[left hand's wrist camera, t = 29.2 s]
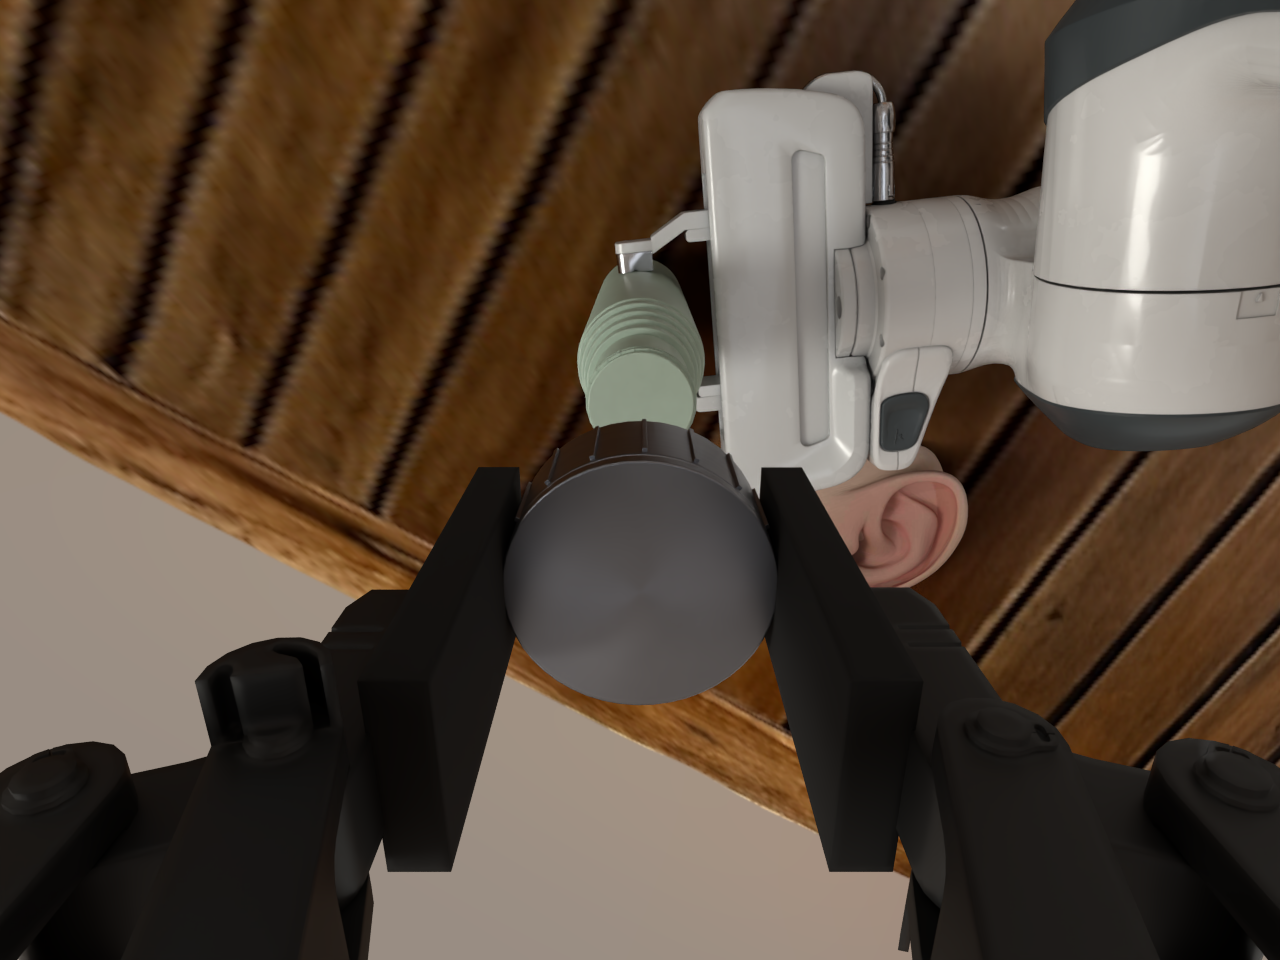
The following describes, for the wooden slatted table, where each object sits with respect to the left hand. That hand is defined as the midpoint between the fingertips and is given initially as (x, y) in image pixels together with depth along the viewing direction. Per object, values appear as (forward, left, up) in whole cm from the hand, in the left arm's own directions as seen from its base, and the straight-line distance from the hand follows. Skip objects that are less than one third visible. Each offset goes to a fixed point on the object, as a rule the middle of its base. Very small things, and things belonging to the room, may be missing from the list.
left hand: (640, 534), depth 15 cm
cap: (0, 0, +2) cm, 2 cm away
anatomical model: (+7, +19, -33) cm, 39 cm away
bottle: (0, 0, -33) cm, 33 cm away
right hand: (+1, -1, -26) cm, 27 cm away
